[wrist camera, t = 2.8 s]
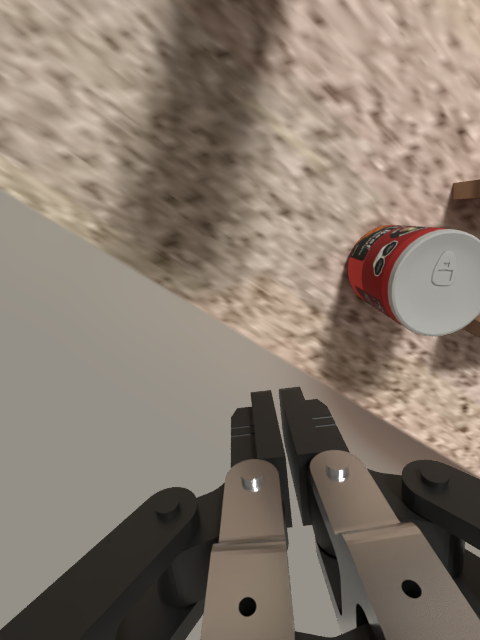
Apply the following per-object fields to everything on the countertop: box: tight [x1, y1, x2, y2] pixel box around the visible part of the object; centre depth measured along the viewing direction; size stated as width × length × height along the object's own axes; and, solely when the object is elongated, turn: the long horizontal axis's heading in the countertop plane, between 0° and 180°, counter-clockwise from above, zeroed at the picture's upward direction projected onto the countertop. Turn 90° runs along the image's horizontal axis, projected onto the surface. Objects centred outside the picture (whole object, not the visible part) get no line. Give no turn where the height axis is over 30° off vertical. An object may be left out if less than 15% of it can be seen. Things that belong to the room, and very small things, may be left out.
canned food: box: [348, 225, 480, 336], centre depth 31 cm, size 8×8×11 cm
